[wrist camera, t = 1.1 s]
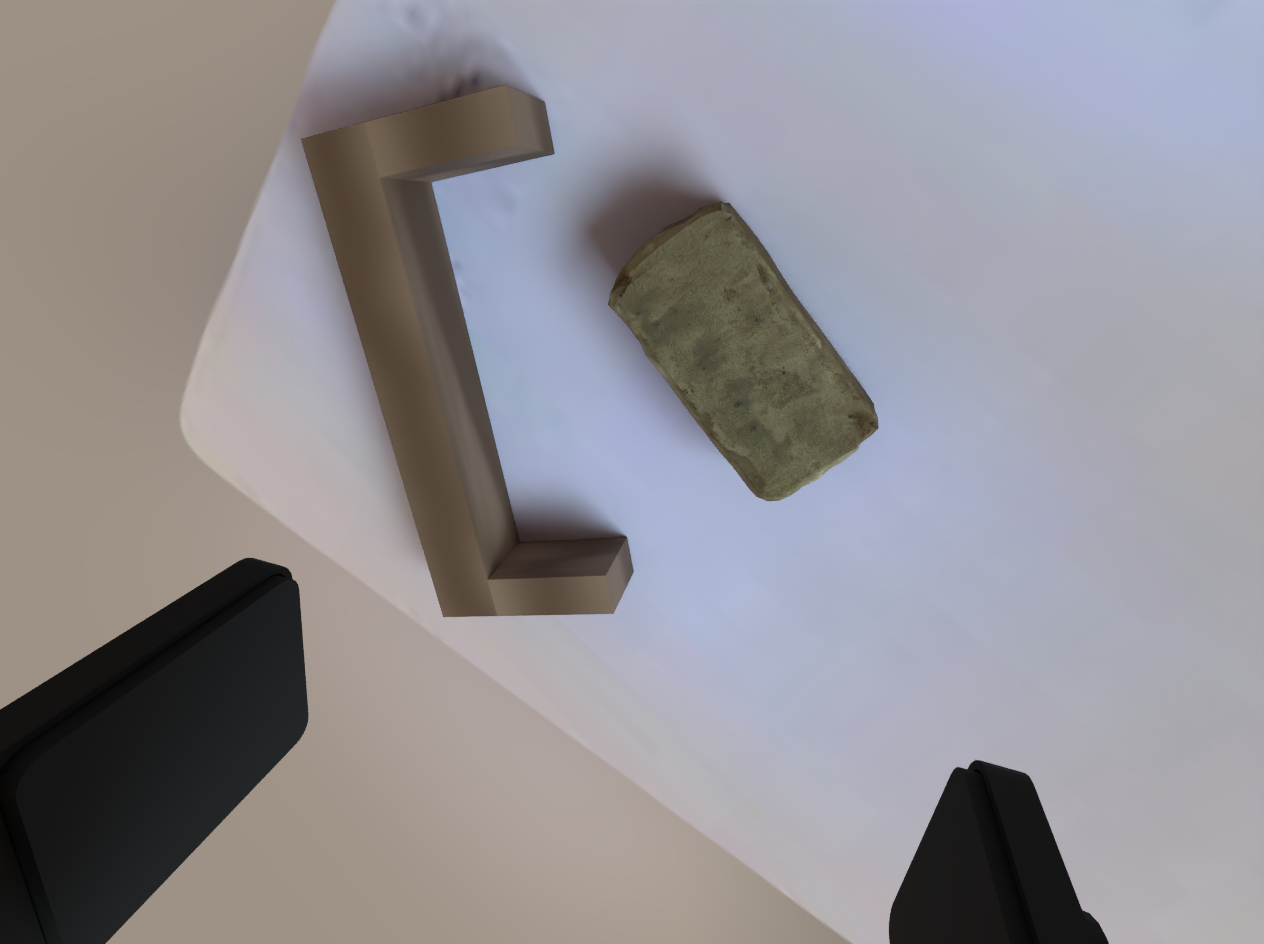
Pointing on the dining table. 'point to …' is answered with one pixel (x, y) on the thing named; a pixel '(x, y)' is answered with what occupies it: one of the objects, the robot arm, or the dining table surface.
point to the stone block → (742, 352)
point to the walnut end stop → (446, 351)
